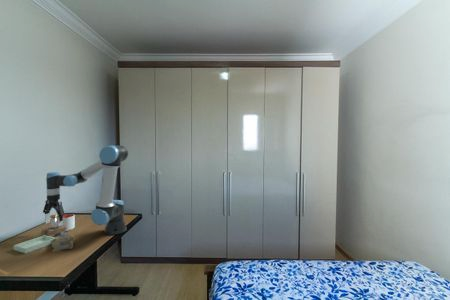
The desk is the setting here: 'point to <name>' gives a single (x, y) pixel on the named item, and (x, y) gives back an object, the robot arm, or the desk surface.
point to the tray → (34, 244)
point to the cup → (69, 221)
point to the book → (63, 243)
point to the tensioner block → (55, 231)
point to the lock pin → (53, 221)
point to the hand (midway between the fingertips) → (53, 224)
